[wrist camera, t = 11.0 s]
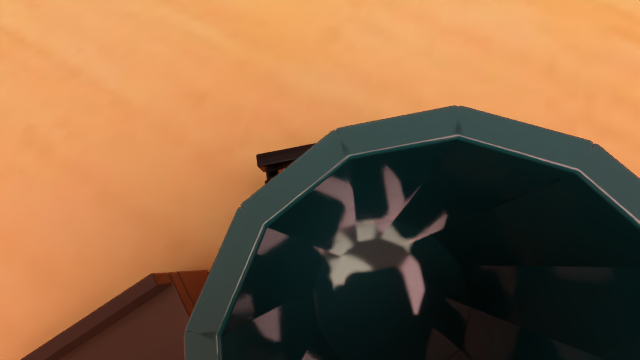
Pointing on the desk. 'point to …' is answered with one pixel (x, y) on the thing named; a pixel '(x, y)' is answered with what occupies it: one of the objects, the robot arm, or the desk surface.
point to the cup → (431, 249)
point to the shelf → (133, 323)
